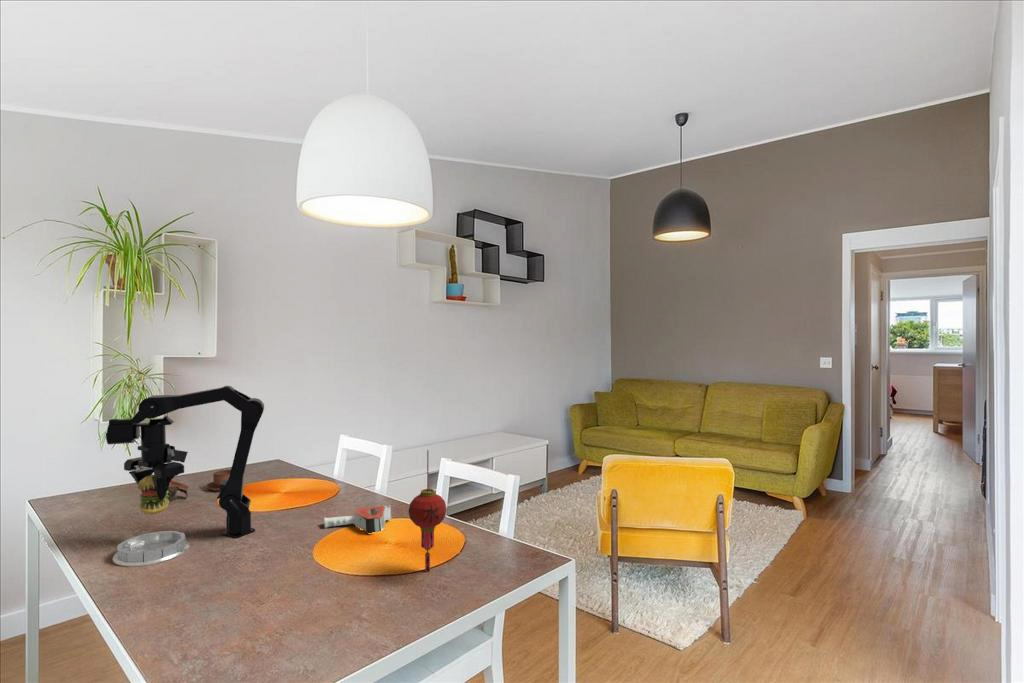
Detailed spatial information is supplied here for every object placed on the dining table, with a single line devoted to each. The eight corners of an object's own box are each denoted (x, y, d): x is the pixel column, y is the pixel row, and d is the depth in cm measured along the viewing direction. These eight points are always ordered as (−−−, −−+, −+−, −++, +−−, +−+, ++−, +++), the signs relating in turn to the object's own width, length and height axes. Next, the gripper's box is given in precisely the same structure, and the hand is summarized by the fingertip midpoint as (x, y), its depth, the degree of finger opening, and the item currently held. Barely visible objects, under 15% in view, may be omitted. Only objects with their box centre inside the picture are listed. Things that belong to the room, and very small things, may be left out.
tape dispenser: (318, 532, 166) (358, 544, 153) (317, 514, 166) (356, 525, 153) (367, 514, 180) (407, 524, 167) (366, 498, 180) (406, 506, 167)
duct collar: (203, 547, 150) (203, 535, 150) (138, 571, 134) (138, 559, 134) (164, 536, 157) (164, 526, 157) (98, 559, 142) (98, 547, 142)
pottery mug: (151, 501, 191) (163, 478, 194) (179, 510, 195) (191, 487, 198) (151, 501, 181) (164, 477, 185) (181, 510, 185) (193, 486, 188)
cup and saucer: (210, 485, 210) (210, 469, 209) (244, 483, 213) (244, 467, 213) (202, 494, 198) (202, 477, 198) (239, 491, 202) (239, 475, 202)
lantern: (405, 565, 138) (405, 447, 138) (441, 560, 142) (442, 445, 141) (412, 582, 129) (412, 455, 129) (450, 575, 133) (451, 452, 132)
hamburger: (137, 518, 147) (136, 473, 147) (138, 510, 153) (137, 468, 153) (170, 513, 151) (170, 469, 151) (171, 505, 157) (170, 464, 157)
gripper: (202, 439, 155) (203, 494, 155) (163, 433, 163) (164, 485, 164) (162, 446, 145) (163, 505, 145) (122, 440, 153) (123, 495, 154)
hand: (154, 497), depth 152 cm, fingers closed on hamburger, 7 cm apart
